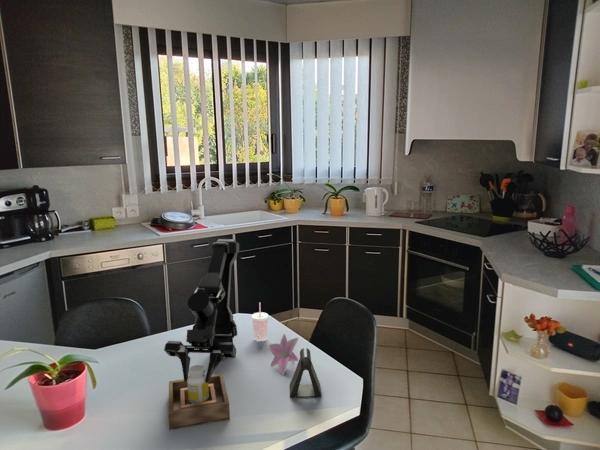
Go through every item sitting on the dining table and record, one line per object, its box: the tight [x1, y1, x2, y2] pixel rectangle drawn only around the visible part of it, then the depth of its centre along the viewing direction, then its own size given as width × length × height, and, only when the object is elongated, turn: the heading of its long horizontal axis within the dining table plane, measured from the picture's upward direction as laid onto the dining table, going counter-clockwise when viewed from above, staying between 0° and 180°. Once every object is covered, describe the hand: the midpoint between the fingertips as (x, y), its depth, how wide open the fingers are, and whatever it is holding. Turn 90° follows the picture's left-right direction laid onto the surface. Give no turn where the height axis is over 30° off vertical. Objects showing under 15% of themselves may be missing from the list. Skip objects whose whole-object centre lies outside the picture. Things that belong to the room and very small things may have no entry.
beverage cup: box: [251, 302, 269, 342], centre depth 154 cm, size 6×6×14 cm
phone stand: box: [289, 347, 322, 399], centre depth 122 cm, size 9×6×12 cm, turn 91°
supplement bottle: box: [187, 364, 209, 404], centre depth 115 cm, size 5×5×10 cm
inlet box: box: [167, 373, 231, 431], centre depth 115 cm, size 15×15×4 cm
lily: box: [268, 333, 299, 376], centre depth 136 cm, size 12×12×10 cm
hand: (195, 381), depth 113 cm, fingers closed on supplement bottle, 5 cm apart
